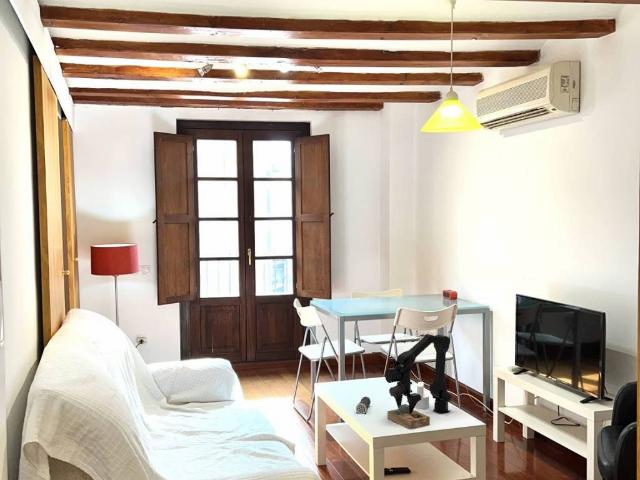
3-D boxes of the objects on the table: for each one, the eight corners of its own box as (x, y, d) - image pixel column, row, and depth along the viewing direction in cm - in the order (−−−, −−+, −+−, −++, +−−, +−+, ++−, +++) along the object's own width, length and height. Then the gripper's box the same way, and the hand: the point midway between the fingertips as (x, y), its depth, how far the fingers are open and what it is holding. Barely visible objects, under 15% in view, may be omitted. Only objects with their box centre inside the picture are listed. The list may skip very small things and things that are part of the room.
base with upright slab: (428, 409, 339) (428, 387, 339) (411, 408, 341) (411, 386, 340) (429, 404, 348) (429, 382, 347) (412, 403, 350) (412, 381, 349)
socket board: (406, 414, 331) (406, 406, 331) (429, 424, 315) (429, 415, 315) (387, 419, 325) (387, 409, 324) (410, 429, 309) (410, 419, 309)
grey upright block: (405, 417, 327) (405, 403, 326) (410, 419, 323) (410, 406, 323) (399, 419, 325) (399, 405, 324) (404, 421, 321) (404, 407, 321)
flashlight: (361, 405, 349) (361, 395, 348) (371, 405, 347) (371, 395, 347) (355, 413, 334) (355, 403, 334) (366, 414, 332) (366, 404, 332)
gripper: (380, 378, 327) (380, 408, 328) (403, 386, 311) (403, 418, 312) (398, 375, 333) (398, 405, 333) (421, 383, 317) (421, 414, 317)
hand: (404, 410), depth 324 cm, fingers open, 9 cm apart
